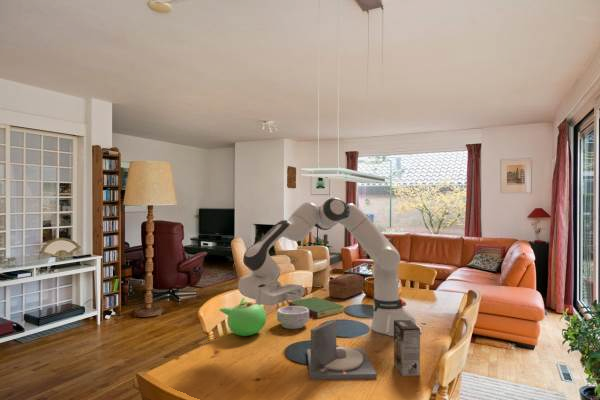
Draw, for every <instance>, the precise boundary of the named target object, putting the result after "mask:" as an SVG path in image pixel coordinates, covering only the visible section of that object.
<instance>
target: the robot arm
mask: <svg viewBox="0 0 600 400" xmlns="http://www.w3.org/2000/svg"><path fill="white" fill-rule="evenodd" d="M338 224H340V225H343V227H345V229H346V230H347V232H349V233H350V234H351V236H353V238H354V239H355V241H357V243H359V245H360V246H361V247H362V249H364V250H363V251H365V253H366V254H367V255H368V256H369V257H370V258H371V260H372V261H373V286H374V287H373V290H374V292H373V298H372V299H373V300H372V309H373V313H372V314H373V316H372V321H371V325H370V329H371V330H372V331H373V332H375V333H379V334H383V335H387V336H389V337H394V320H411V321H412V322H413V323H414V324H415V325H417V326H418V327H419V328H420V334H422V327H420V326H419V325H418V324H417V321H416V317H415V316H414V315H413V313H411V312H410V311H409V310H407V309H406V308H405V306H407V302H406V301H405V300H403V299H401V298H400V296H399V294H400V293H399V292H400V291H399V290H400V289H399V287H400V286H399V284H400V283H399V271H398V267H399V265H400V262H401V255H400V252H399V251H398V250H397V248H396V247H395V246H394V245H393V244H392V243H391V242H390V240H388V238H387V237H386V236H385V235H384V233H382V231H380V229H379V228H378V227H377V226H376V225H375V224H374V222H373V221H372V220H371V219H370V218H369V217H368V215H367V214H366V213H364V211H363V210H362V209H361V208H359V207H358V206H357V205H355V204H354V203H350V202H349V203H347V202H345V201H344V200H342V199H340V198H339V197H331V198H329V199H327V200H325V202H323V203H322V204H321V205H320V206H318V205H316V204H315V203H313V202H311V201H310V202H309V201H305V202H303V203H302V204H300V205H299V206H298V207H297V208H296V210H294V212H293V213H292V214H291V215H290V216H289V218H288V219H286V220H285V219H282V220H280V221H279V222H277V223H275V224H274V225H273V226H272V227H271V228H270V229H269V230H268V231H267V232H266V233H265V234H264V235H263V236H262V237H261V238H259V240H258V241H256V242H255V243H254V244H252V245H251V246H249V247H248V248H246V250H245V252H244V254H243V258H242V259H243V264H244V266H246V267H247V269H249V270H250V271H251V272H250V273H249V274H246V275H243V276H241V277H239V280H238V282H237V289H238V291H239V293H240V294H241V295H242V296H244V298H248V299H252V300H255V303H256V304H258V305H260V306H262V305H263V306H274V305H278V304H281V303H283V302H284V303H285V302H289V301H297V300H302V299H303V296H305V292H306V291H305V290H306V288H305V286H304V285H303V284H301V285H300V284H293V283H289V284H285V285H281V282H280V281H278V280H279V277H280V274H281V267H280V266H279V265H278V263H277V262H276V261H275V260H274V259H273V258H272V256H271V255H270V252H269V251H270V249H271V248H272V247H273V246H274V245H275V244H276V243H277V242H278V241H279V240H280V239H281V238H285V239H288V240H290V241H293V242H301V241H303V240H305V239H306V237H308V235H309V234H310V233H311V231H312V230H313V229H314V227H315V228H317V229H319V230H322V231H328V230H330V229H332V228H333V227H335V226H336V225H338Z"/></svg>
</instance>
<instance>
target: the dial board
mask: <svg viewBox="0 0 600 400" xmlns="http://www.w3.org/2000/svg"><path fill="white" fill-rule="evenodd" d="M351 349H354V350H356V351H358V352H360V353H361V354H362V356H363V363H362V365H361V366H360V367H358V368H355V369H352V370H344V371H339V370H331V369H327V368H324V367H323V368H321V369H319V370H318V371H316V372H312V371H311V348H308V349H306V355H307V356H308V357H307V361H308V363H307V364H308V371H309V377H310V378H309V380H316V381H317V380H359V379H360V380H365V379H366V380H368V379H374V380H375V379H377V372H376V370H375V368H374V366H373V365H372V363H371V361H370V359H369V357H368V355H367V352H366V350H365V349H364V348H361V347H360V348H358V347H357V348H353V347H352V348H351Z"/></svg>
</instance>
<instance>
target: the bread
mask: <svg viewBox="0 0 600 400" xmlns="http://www.w3.org/2000/svg"><path fill="white" fill-rule="evenodd" d="M363 281H364V282H365V279H364V277H362V276H361V275H360V274H357V273H345V274H341V275H337V276H336V277H333V278H331V279H329V281H328V293H329V294H328V295H329V297H331V298H335V299H342V300H343V299H348V298H350V297H353V296H356V295H357V294H358V295H359V294H361V293H362V292H364V291H363Z"/></svg>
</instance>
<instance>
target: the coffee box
mask: <svg viewBox="0 0 600 400" xmlns="http://www.w3.org/2000/svg"><path fill="white" fill-rule="evenodd" d="M417 325H418V324H417ZM417 325H415V324H414V323H413V322H412V321H411V320H394V336H393V365H394V366H395V368H396V369H397V371H399V373H400V374H401V376H403V377H409V376H420V375H421V371H420V370H421V333H420V328H421V327H420V326H419V325H418V326H419V327H420V328H419V327H418V326H417Z"/></svg>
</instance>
